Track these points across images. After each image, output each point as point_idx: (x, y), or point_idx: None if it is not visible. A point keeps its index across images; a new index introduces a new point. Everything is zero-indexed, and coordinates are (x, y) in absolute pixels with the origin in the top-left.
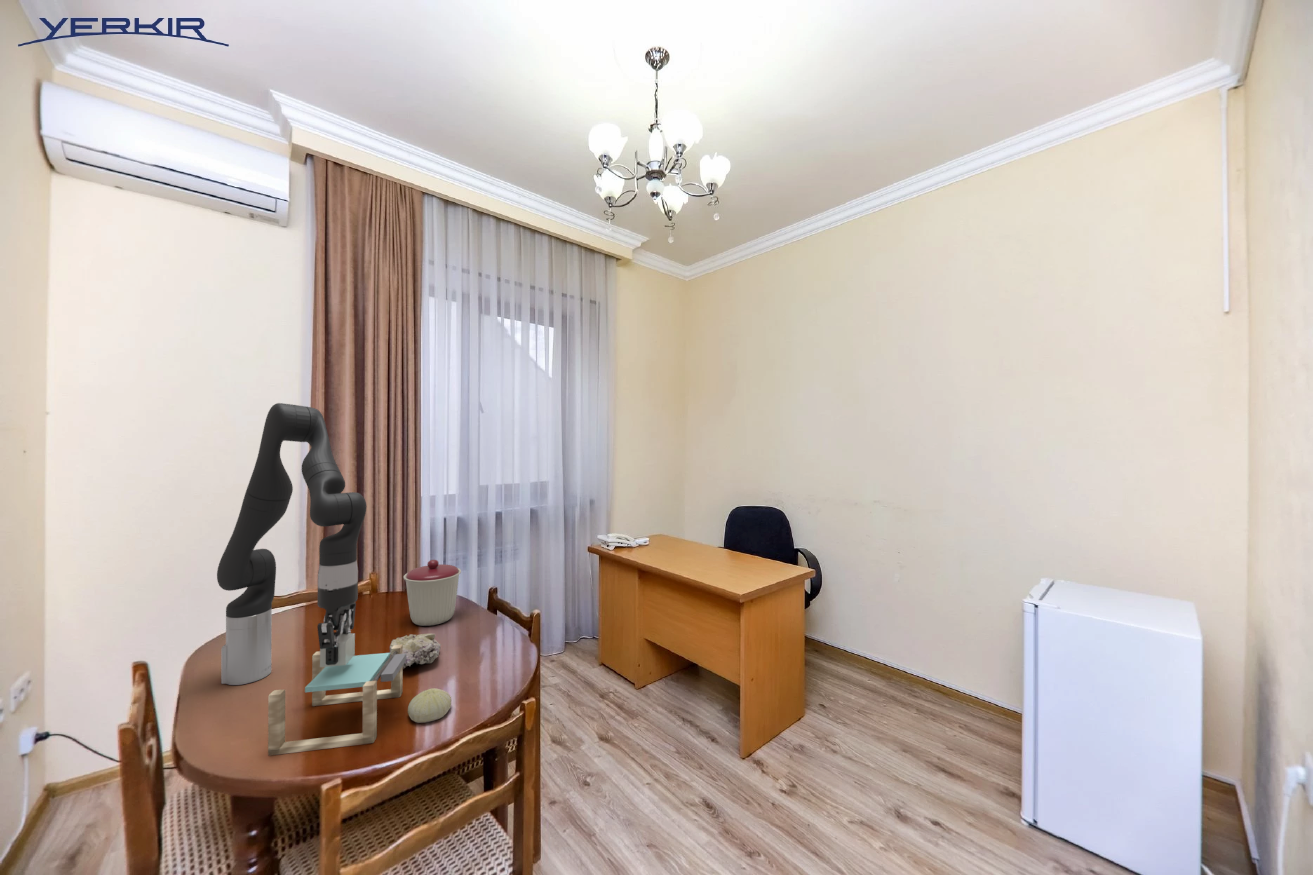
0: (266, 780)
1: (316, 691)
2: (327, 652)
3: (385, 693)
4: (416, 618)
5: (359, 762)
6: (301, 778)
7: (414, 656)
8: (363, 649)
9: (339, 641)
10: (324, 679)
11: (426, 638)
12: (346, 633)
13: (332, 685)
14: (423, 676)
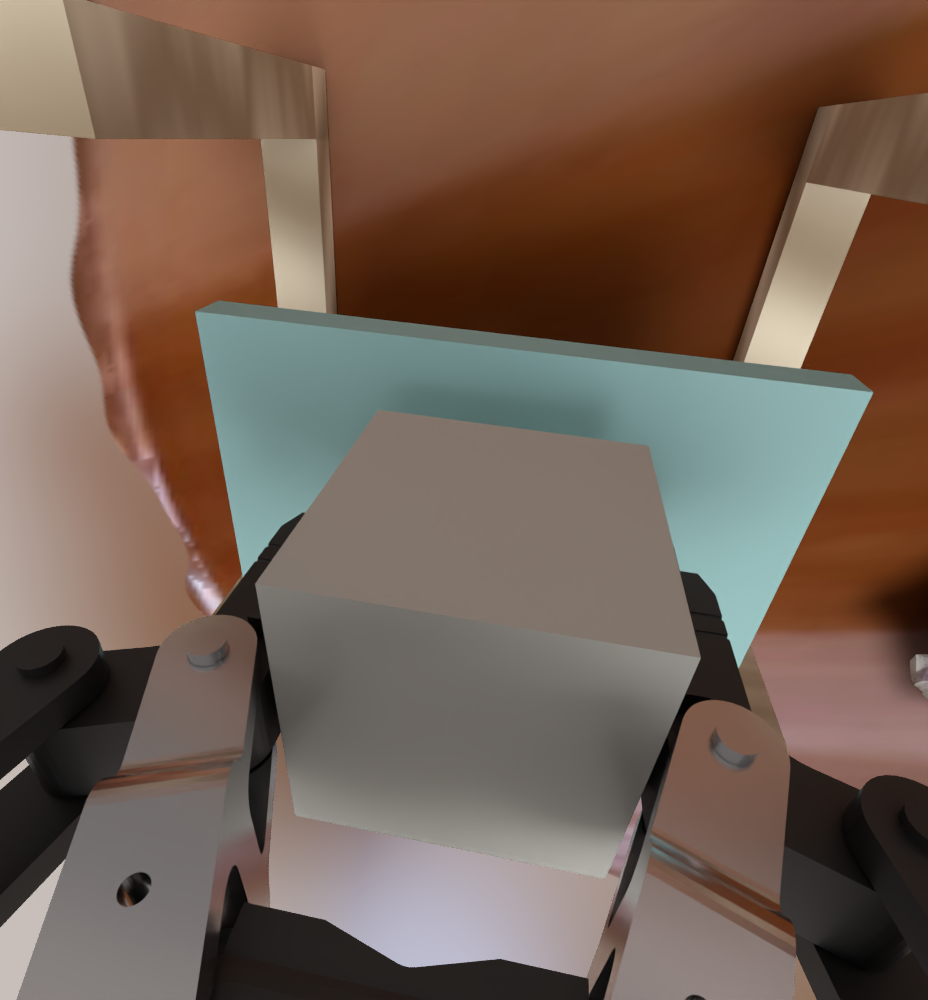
0: (87, 168)
1: (849, 140)
2: (231, 607)
3: None
4: None
5: (200, 496)
6: (110, 322)
7: None
8: None
9: (338, 768)
10: (329, 430)
11: None
12: (642, 819)
13: (234, 504)
14: (841, 648)
